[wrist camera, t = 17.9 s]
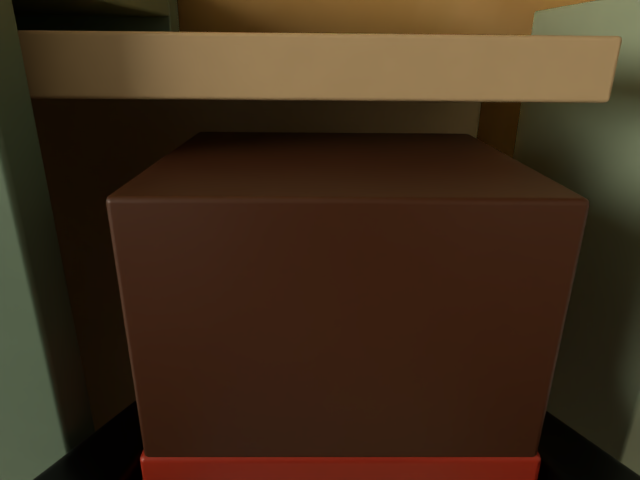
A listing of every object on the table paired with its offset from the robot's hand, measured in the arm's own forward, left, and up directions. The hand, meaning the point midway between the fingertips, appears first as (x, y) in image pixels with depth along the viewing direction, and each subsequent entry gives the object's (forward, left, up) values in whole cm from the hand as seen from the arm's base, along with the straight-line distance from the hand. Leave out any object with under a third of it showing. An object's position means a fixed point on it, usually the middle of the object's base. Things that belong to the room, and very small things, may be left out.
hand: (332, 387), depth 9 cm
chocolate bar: (0, 0, -1) cm, 1 cm away
